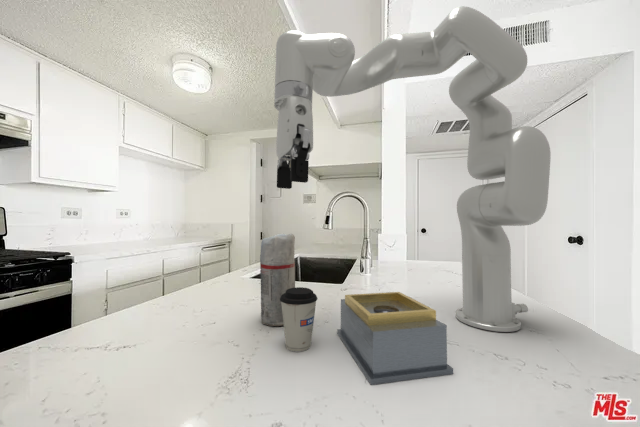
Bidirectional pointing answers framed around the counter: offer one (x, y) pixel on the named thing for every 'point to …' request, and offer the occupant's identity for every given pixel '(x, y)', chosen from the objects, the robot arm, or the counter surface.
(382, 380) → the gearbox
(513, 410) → the counter surface
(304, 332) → the coffee cup
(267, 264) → the spray can
